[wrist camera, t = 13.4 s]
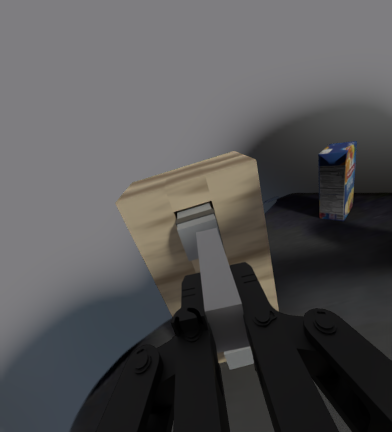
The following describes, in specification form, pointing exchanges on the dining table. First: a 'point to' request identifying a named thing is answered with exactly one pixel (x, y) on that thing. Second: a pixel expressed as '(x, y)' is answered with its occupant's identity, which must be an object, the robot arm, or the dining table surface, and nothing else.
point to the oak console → (192, 197)
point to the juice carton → (336, 180)
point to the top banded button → (195, 227)
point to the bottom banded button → (239, 357)
